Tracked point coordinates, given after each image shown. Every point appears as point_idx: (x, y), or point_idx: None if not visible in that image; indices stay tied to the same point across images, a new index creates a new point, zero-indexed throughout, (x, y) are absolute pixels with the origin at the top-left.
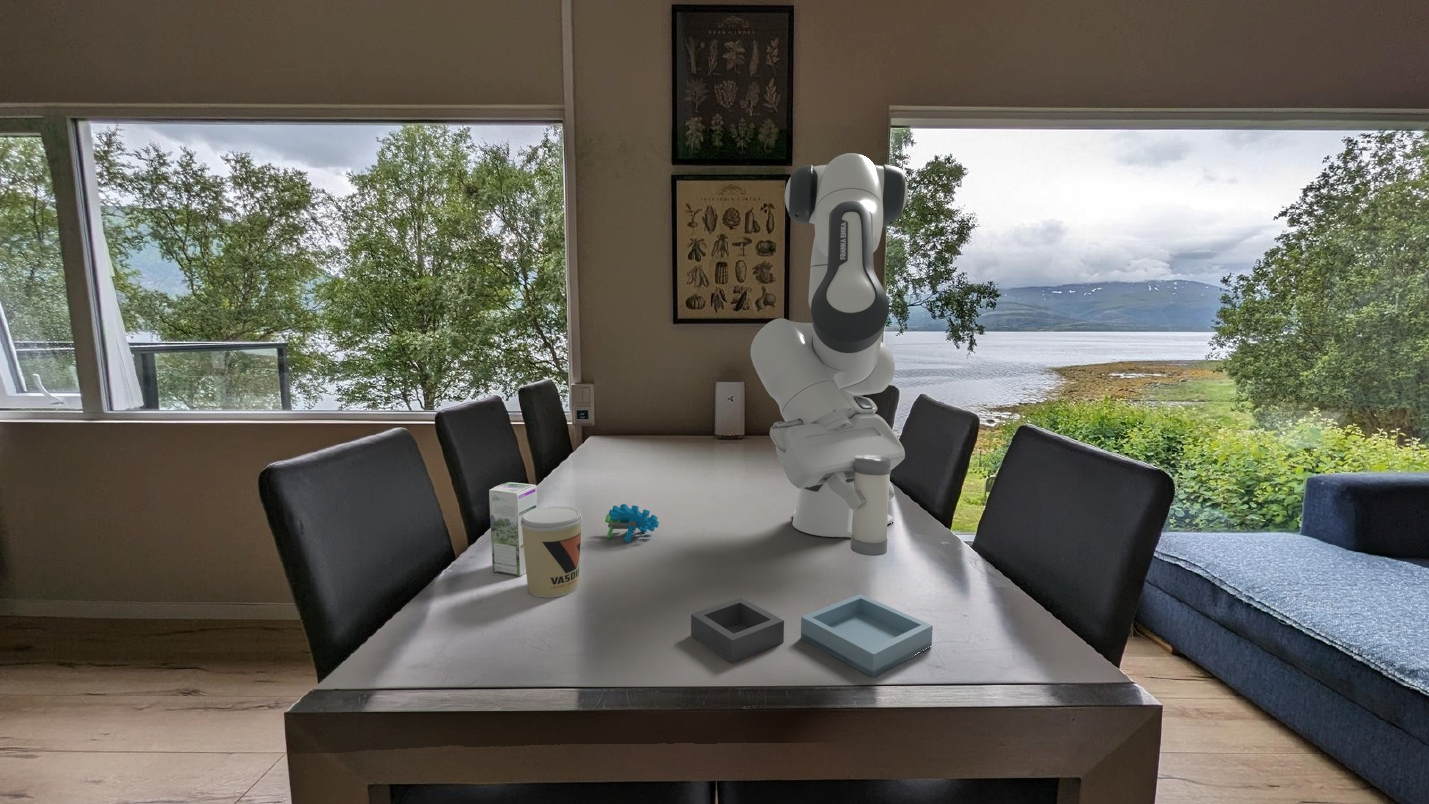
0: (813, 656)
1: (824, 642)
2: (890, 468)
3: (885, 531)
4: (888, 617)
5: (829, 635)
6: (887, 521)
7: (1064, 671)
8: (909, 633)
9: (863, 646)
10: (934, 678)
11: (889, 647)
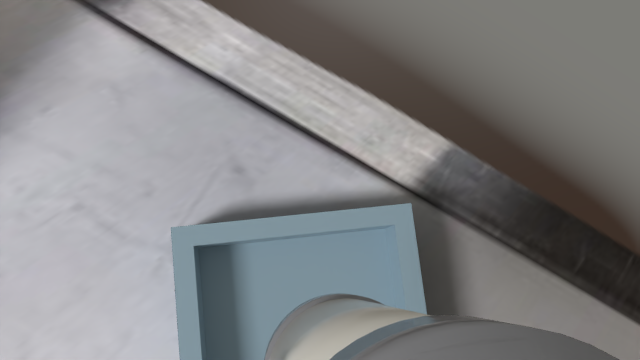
0: None
1: None
2: (365, 344)
3: (325, 305)
4: (203, 353)
5: None
6: (299, 325)
7: (16, 15)
8: (259, 229)
9: (407, 242)
10: (284, 143)
11: (353, 209)
